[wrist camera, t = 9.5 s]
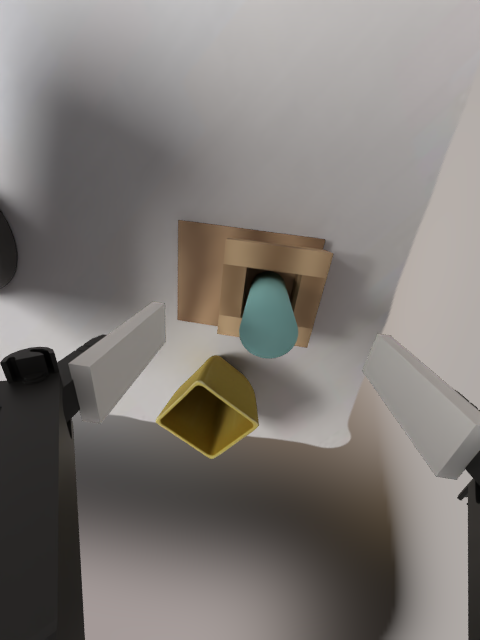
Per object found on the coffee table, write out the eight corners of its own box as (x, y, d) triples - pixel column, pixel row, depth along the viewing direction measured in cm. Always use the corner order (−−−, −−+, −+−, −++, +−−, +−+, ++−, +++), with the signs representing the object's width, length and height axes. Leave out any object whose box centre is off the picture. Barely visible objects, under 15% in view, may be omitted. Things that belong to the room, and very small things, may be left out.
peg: (249, 301, 27) (236, 353, 16) (253, 268, 25) (242, 301, 14) (281, 306, 27) (291, 362, 16) (288, 273, 25) (304, 310, 14)
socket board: (180, 317, 30) (165, 333, 25) (181, 220, 25) (163, 218, 20) (298, 335, 29) (304, 355, 25) (323, 239, 24) (336, 241, 20)
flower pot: (223, 406, 35) (211, 461, 27) (180, 374, 34) (153, 422, 25) (261, 375, 32) (260, 426, 24) (215, 337, 31) (197, 379, 22)
